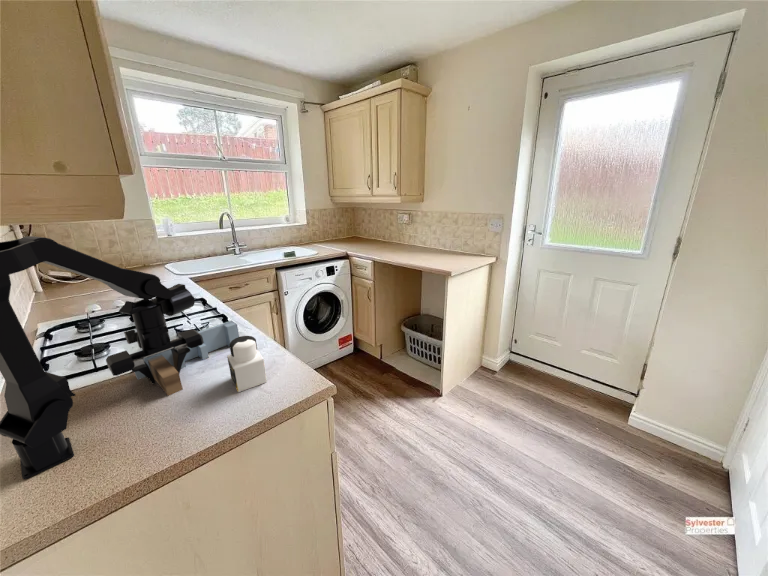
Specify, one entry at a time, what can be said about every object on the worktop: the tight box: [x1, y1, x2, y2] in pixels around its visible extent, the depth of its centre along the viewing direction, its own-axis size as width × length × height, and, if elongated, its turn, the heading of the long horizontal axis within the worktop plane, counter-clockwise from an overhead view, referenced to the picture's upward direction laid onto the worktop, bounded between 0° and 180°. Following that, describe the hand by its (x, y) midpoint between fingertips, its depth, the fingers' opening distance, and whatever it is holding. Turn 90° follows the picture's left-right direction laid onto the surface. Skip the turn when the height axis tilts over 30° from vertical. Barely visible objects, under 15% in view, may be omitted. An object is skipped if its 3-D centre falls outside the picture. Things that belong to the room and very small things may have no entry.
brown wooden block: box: [148, 355, 184, 396], centre depth 78 cm, size 12×3×5 cm, turn 50°
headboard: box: [131, 320, 240, 380], centre depth 88 cm, size 4×26×7 cm, turn 140°
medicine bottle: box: [227, 335, 268, 393], centre depth 78 cm, size 7×7×12 cm
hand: (166, 379), depth 79 cm, fingers open, 5 cm apart
